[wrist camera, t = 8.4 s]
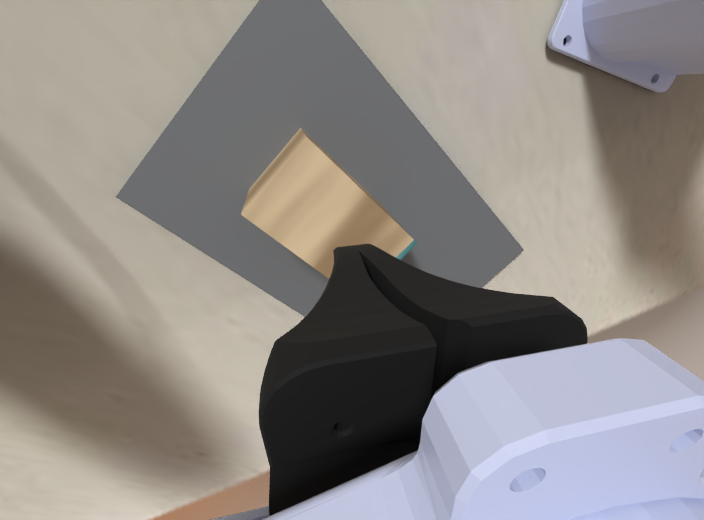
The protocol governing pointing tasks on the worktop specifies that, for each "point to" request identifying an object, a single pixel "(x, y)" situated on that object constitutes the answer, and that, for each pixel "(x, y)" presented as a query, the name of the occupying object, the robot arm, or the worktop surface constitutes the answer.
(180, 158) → the mat
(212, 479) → the worktop surface
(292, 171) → the oak block
